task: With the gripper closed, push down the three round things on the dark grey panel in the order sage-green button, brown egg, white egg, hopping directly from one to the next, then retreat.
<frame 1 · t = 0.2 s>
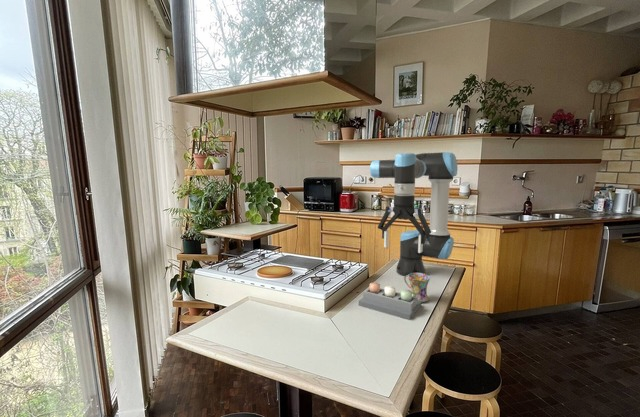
hand: (402, 249, 119), 26 cm above the table, fingers open, 13 cm apart
sage button: (406, 296, 124), point 6 cm above the table, slide at 0.0 cm
panel: (389, 305, 129), on the table
white egg: (389, 292, 128), point 6 cm above the table, slide at 0.0 cm
brown egg: (374, 288, 133), point 6 cm above the table, slide at 0.0 cm
mug: (415, 298, 136), on the table
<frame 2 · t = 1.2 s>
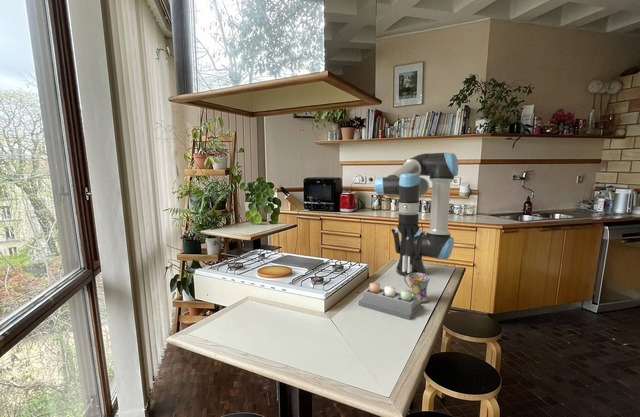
hand: (406, 271, 123), 16 cm above the table, fingers closed
nothing on the table moved.
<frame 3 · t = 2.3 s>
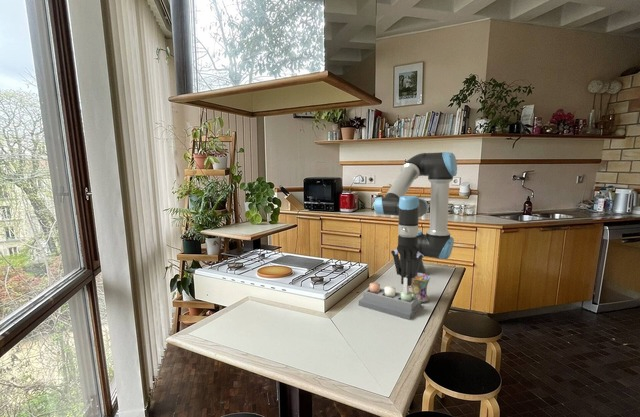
hand: (406, 292, 124), 8 cm above the table, fingers closed
sage button: (406, 297, 124), point 6 cm above the table, slide at 0.4 cm, touching gripper
everything else where it was.
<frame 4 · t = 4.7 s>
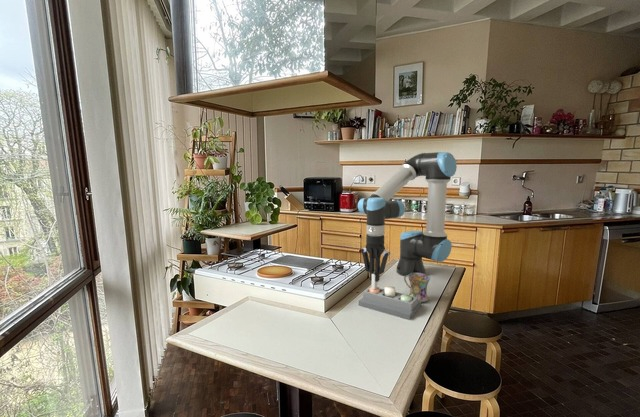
hand: (374, 288, 132), 6 cm above the table, fingers closed
sage button: (406, 300, 125), point 4 cm above the table, slide at 2.0 cm
brown egg: (374, 292, 133), point 4 cm above the table, slide at 1.8 cm, touching gripper
everything else where it was.
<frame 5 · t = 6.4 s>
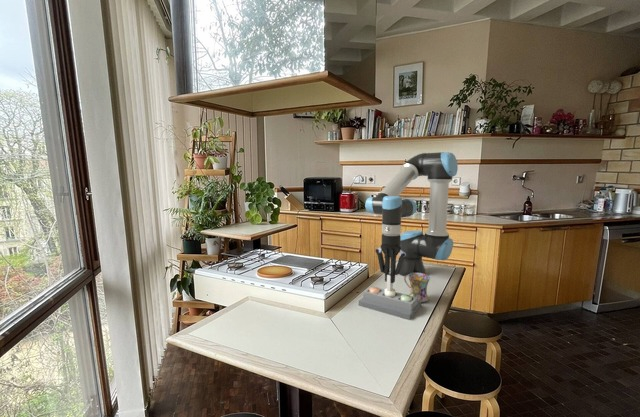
hand: (389, 289, 128), 7 cm above the table, fingers closed
white egg: (389, 293, 129), point 5 cm above the table, slide at 0.8 cm, touching gripper
brown egg: (374, 292, 133), point 4 cm above the table, slide at 2.0 cm
everything else where it was.
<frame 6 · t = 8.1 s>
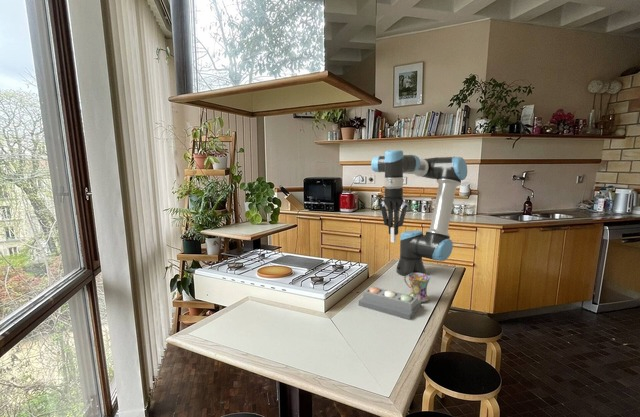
hand: (393, 241, 133), 26 cm above the table, fingers closed
white egg: (389, 296, 129), point 4 cm above the table, slide at 2.0 cm
everything else where it was.
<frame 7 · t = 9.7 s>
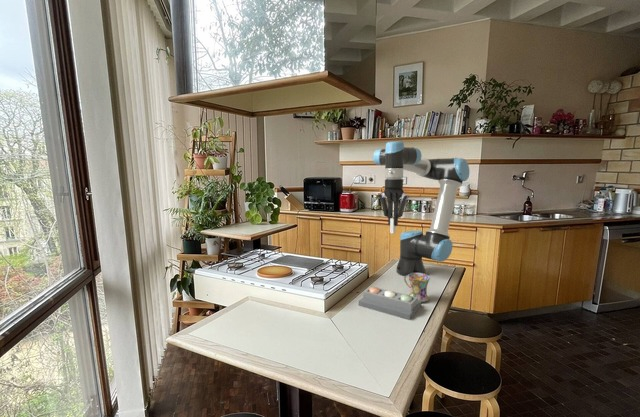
hand: (392, 232, 134), 29 cm above the table, fingers closed
nothing on the table moved.
at the end: sage button slide at 2.0 cm; brown egg slide at 2.0 cm; white egg slide at 2.0 cm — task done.
